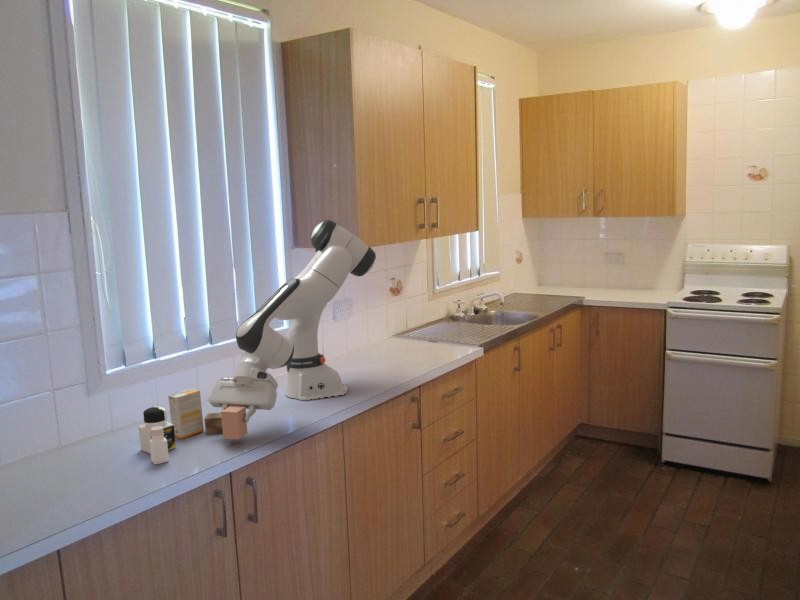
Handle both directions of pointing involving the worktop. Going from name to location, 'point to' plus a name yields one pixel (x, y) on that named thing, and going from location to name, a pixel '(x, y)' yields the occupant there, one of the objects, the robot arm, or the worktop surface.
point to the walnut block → (213, 423)
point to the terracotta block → (233, 422)
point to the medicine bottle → (153, 419)
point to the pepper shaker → (158, 446)
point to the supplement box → (186, 413)
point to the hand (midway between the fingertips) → (234, 420)
